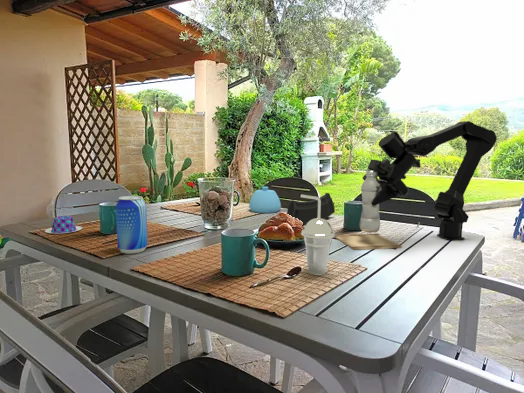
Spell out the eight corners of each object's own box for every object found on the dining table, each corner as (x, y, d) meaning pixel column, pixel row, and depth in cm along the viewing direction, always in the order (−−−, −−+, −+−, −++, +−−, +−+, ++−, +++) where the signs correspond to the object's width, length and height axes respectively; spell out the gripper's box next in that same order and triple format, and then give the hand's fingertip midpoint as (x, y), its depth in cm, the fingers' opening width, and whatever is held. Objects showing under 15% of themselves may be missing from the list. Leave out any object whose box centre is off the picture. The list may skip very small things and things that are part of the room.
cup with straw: (334, 279, 91) (337, 196, 88) (296, 276, 92) (298, 195, 89) (334, 267, 99) (336, 192, 96) (299, 265, 100) (301, 190, 98)
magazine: (287, 206, 140) (331, 178, 159) (280, 205, 142) (324, 177, 162) (294, 246, 146) (335, 214, 165) (288, 245, 148) (329, 213, 168)
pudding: (58, 237, 129) (57, 222, 128) (37, 232, 134) (36, 218, 134) (89, 230, 139) (88, 216, 138) (69, 226, 145) (68, 212, 144)
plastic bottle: (362, 234, 120) (365, 171, 117) (356, 229, 126) (359, 170, 123) (382, 234, 120) (385, 171, 117) (375, 229, 127) (378, 170, 124)
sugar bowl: (269, 215, 170) (270, 189, 168) (242, 211, 178) (242, 187, 176) (286, 210, 182) (286, 186, 180) (260, 207, 190) (260, 184, 188)
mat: (377, 235, 134) (377, 233, 134) (401, 247, 118) (401, 245, 118) (334, 237, 131) (334, 235, 131) (354, 250, 115) (354, 247, 115)
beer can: (153, 248, 115) (151, 196, 113) (135, 255, 107) (133, 200, 105) (130, 245, 118) (128, 194, 116) (111, 252, 110) (108, 198, 108)
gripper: (368, 149, 129) (338, 183, 128) (401, 151, 111) (366, 189, 110) (387, 172, 132) (358, 204, 131) (423, 177, 115) (389, 215, 113)
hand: (367, 203), depth 121 cm, fingers closed on plastic bottle, 6 cm apart
